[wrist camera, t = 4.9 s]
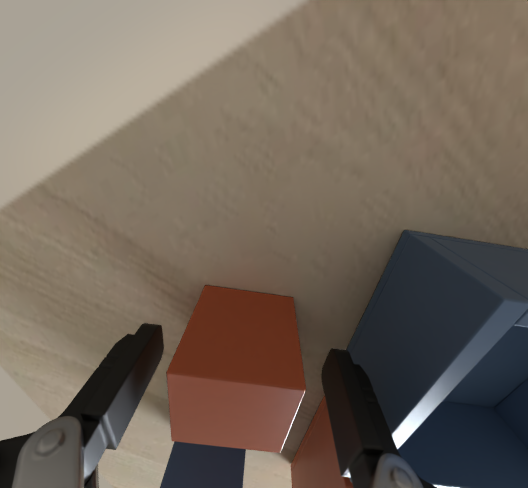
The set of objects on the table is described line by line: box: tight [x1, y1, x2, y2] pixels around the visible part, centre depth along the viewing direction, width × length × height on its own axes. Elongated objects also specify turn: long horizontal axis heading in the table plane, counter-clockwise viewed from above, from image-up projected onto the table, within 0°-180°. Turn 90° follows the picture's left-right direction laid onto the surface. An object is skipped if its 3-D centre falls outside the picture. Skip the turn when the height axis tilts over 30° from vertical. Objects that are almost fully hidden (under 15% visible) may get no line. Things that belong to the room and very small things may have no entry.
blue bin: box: [347, 230, 528, 488], centre depth 10 cm, size 12×12×4 cm
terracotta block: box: [166, 285, 306, 453], centre depth 10 cm, size 5×5×5 cm
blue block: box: [160, 441, 246, 488], centre depth 15 cm, size 5×5×5 cm
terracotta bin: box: [291, 395, 353, 488], centre depth 16 cm, size 12×12×4 cm
